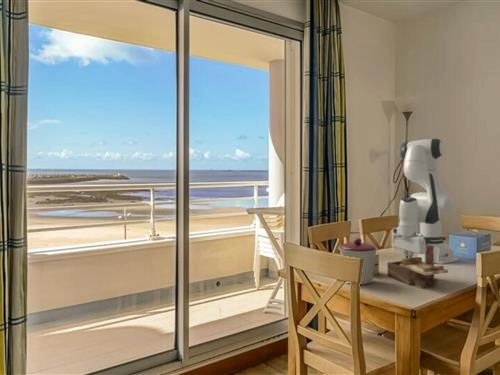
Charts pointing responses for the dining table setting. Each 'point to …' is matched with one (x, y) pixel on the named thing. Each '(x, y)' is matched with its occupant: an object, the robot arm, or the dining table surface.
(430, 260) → the reddish brown cylinder
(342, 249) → the canister
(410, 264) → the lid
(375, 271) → the puzzle cube
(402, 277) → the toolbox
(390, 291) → the dining table surface
